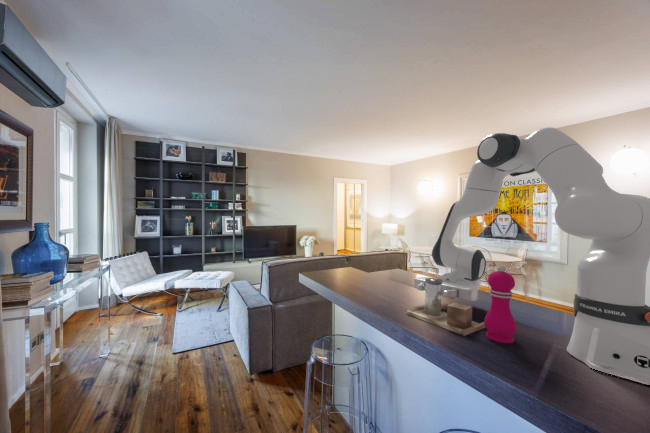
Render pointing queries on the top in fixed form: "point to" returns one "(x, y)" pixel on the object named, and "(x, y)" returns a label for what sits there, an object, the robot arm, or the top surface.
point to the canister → (433, 296)
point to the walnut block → (459, 315)
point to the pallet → (445, 322)
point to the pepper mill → (500, 307)
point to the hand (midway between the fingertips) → (431, 290)
